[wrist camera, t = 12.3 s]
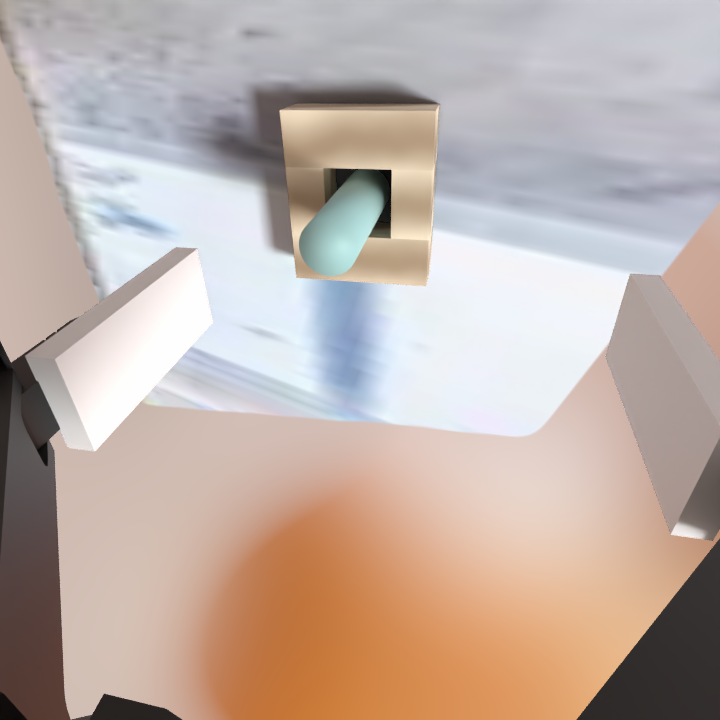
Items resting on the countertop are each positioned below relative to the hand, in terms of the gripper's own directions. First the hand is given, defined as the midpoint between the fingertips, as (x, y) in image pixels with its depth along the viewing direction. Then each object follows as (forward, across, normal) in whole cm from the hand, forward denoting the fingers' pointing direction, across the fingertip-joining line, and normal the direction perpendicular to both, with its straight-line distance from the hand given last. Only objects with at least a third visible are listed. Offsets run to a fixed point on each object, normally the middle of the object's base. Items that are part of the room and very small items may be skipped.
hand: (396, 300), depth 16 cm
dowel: (+31, -7, -5) cm, 32 cm away
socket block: (+31, -7, -5) cm, 32 cm away
